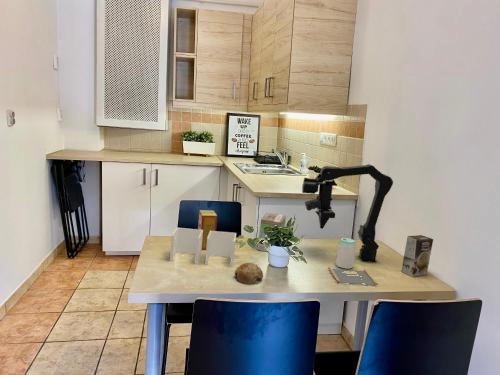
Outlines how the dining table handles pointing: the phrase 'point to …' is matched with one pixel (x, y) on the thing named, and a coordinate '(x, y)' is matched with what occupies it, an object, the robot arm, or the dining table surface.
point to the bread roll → (249, 273)
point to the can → (345, 253)
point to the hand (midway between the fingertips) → (321, 228)
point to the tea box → (269, 225)
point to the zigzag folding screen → (192, 244)
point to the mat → (353, 277)
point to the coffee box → (417, 255)
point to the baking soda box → (206, 224)
